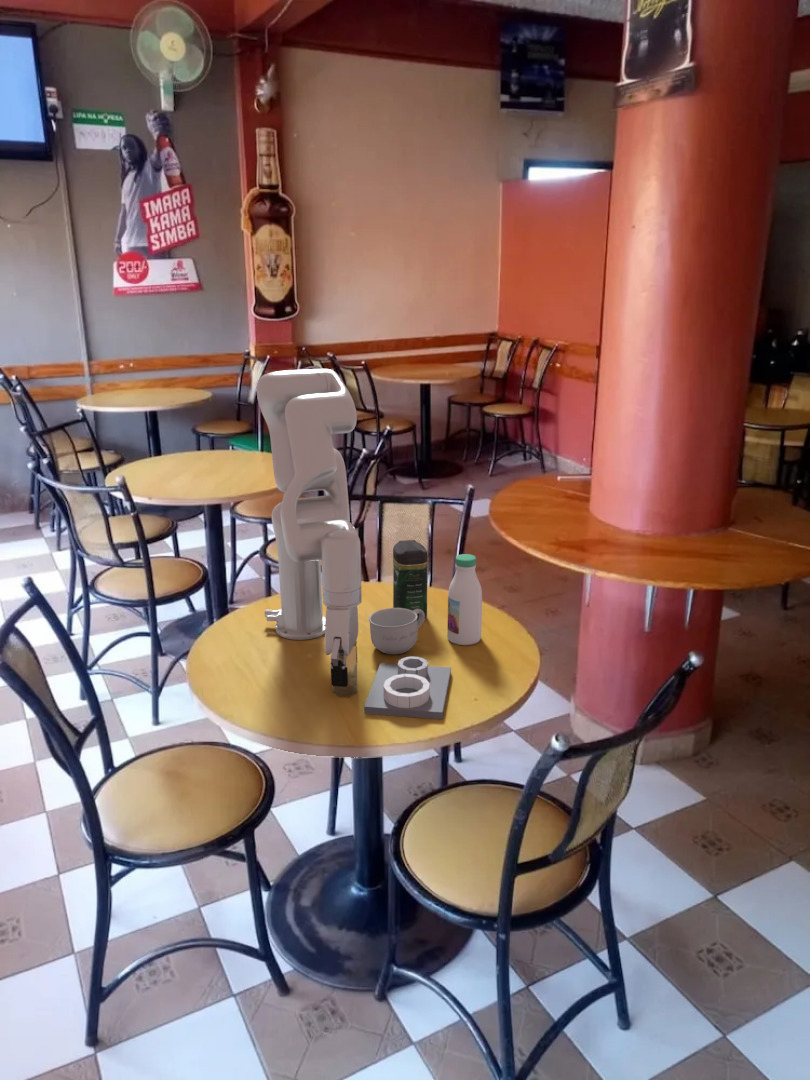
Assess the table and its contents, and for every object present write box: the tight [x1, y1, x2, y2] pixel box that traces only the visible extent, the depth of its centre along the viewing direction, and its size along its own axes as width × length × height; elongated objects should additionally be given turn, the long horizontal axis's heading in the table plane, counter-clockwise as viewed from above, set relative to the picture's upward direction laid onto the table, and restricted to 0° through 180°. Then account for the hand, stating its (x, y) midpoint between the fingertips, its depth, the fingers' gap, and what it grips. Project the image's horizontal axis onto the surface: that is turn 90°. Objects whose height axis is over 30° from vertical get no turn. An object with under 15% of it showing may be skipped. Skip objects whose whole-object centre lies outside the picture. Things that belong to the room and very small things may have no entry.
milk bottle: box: [446, 553, 483, 646], centre depth 184 cm, size 8×8×20 cm
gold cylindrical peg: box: [331, 643, 358, 698], centre depth 164 cm, size 5×5×10 cm
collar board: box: [363, 655, 452, 720], centre depth 164 cm, size 15×18×4 cm
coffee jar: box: [392, 539, 429, 621], centre depth 197 cm, size 10×8×19 cm
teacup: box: [368, 607, 426, 655], centre depth 183 cm, size 14×11×8 cm
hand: (344, 674), depth 164 cm, fingers open, 8 cm apart
